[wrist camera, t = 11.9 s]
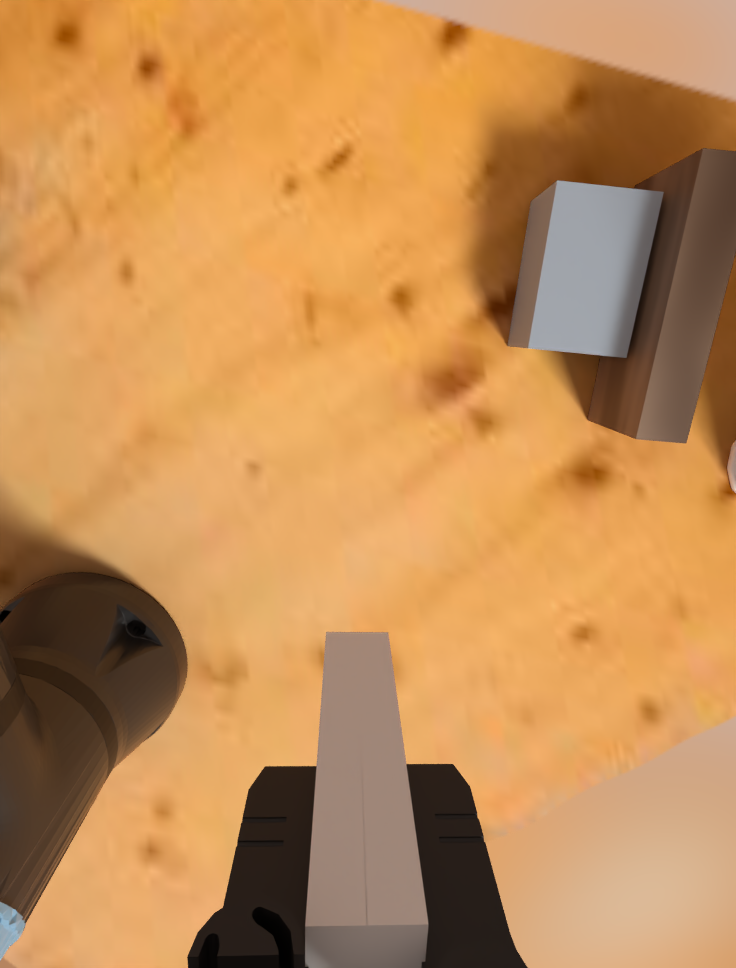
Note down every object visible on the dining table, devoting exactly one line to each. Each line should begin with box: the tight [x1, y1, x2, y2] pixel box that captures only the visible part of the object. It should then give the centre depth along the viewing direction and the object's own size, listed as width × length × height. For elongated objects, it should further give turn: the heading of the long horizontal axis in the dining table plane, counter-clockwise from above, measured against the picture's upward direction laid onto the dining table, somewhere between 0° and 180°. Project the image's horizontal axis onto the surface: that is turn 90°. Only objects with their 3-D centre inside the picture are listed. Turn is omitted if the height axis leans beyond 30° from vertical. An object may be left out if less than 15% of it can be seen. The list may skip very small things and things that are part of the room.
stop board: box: [588, 148, 736, 443], centre depth 32 cm, size 3×15×7 cm, turn 175°
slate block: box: [508, 180, 664, 358], centre depth 33 cm, size 6×9×5 cm, turn 175°
